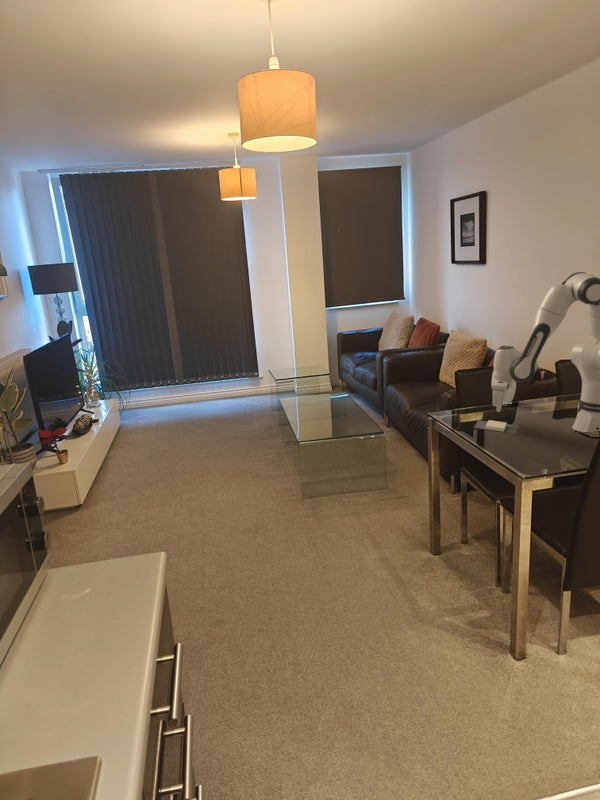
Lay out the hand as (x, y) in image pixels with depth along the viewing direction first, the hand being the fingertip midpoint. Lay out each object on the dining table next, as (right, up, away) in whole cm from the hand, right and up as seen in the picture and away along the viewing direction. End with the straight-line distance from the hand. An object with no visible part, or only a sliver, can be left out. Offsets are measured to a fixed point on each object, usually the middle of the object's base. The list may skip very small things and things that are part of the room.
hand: (498, 411), depth 244 cm
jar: (+16, +3, +36) cm, 40 cm away
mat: (-1, -8, 0) cm, 8 cm away
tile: (0, -6, +2) cm, 6 cm away
